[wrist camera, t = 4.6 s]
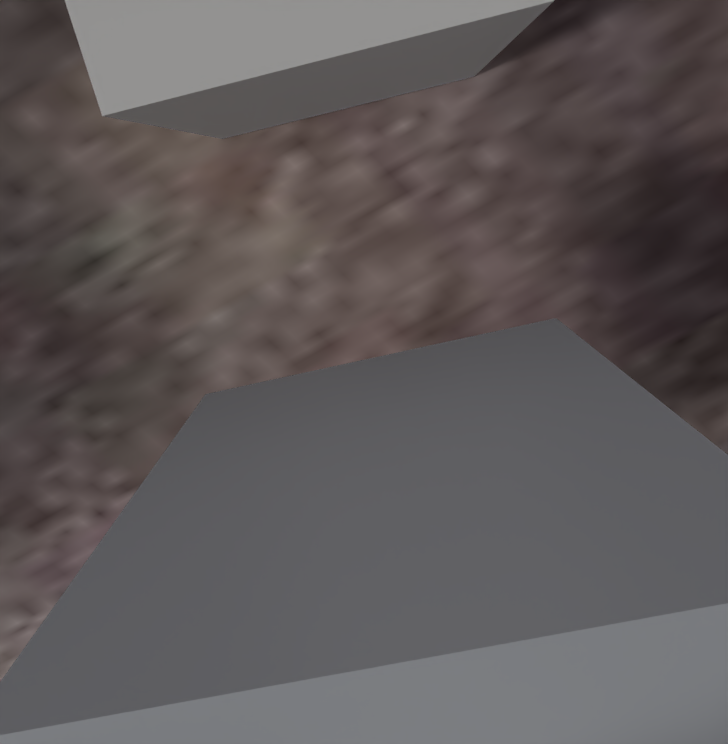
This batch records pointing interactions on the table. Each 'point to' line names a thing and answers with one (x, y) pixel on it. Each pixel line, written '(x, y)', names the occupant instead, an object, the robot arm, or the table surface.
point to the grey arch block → (404, 566)
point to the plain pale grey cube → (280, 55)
